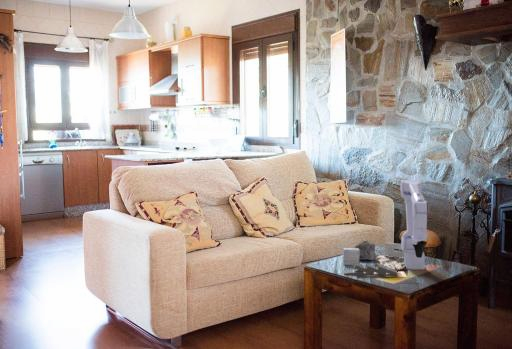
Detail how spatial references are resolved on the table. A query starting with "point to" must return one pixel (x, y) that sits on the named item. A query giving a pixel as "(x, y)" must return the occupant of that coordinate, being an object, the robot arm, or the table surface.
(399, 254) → the cassette
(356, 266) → the domino
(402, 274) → the board
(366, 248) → the mineral rock
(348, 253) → the medicine box
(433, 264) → the table surface
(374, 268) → the domino
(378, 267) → the loose domino
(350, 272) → the end domino
